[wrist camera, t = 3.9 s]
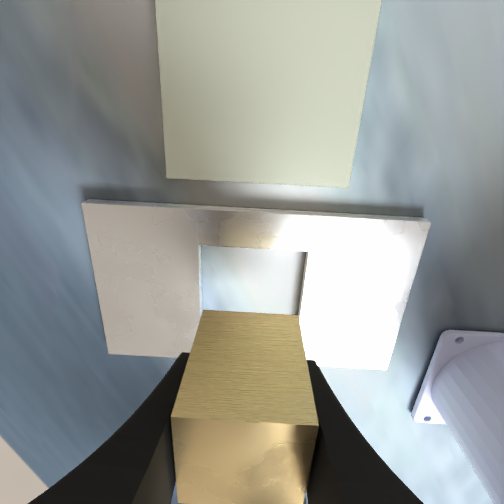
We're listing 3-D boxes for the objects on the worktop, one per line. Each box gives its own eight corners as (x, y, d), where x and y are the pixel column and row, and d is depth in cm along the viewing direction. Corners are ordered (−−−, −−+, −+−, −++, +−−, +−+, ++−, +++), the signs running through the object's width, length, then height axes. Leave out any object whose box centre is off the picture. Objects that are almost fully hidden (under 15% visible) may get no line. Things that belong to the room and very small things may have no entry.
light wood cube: (298, 315, 13) (318, 425, 8) (289, 385, 14) (301, 510, 10) (203, 309, 13) (170, 416, 8) (204, 380, 14) (177, 502, 10)
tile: (383, -43, 12) (391, -53, 11) (344, 184, 16) (348, 188, 15) (157, -54, 12) (150, -65, 11) (170, 175, 16) (166, 178, 15)
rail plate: (423, 217, 16) (431, 222, 16) (382, 360, 20) (386, 369, 20) (89, 198, 16) (81, 202, 16) (114, 345, 21) (108, 353, 20)
